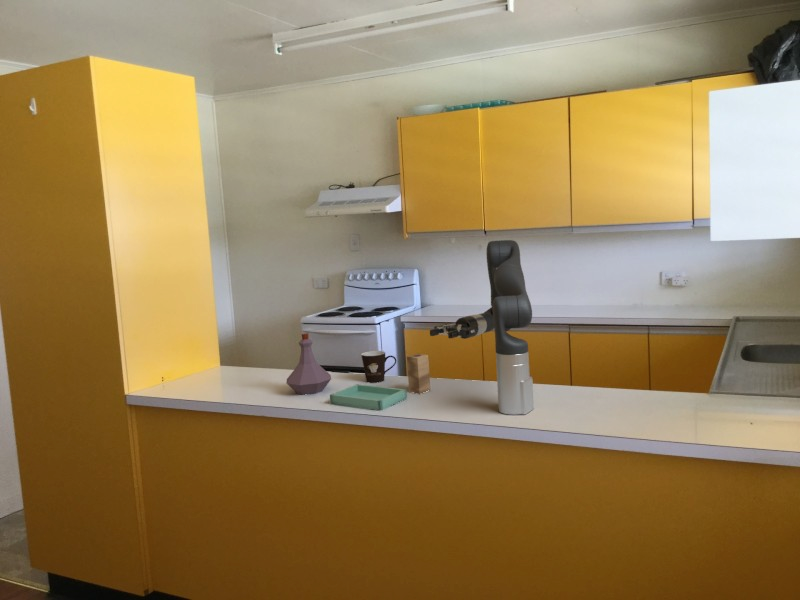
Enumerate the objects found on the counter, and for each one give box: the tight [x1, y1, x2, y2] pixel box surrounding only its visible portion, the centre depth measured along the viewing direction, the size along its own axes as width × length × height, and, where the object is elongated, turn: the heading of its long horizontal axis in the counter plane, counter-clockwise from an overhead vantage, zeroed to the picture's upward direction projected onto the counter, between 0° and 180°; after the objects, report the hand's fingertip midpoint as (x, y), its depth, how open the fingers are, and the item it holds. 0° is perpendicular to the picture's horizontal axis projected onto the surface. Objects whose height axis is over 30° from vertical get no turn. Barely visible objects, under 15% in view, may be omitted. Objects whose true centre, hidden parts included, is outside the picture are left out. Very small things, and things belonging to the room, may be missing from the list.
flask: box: [286, 333, 332, 396], centre depth 232 cm, size 16×16×20 cm
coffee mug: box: [360, 350, 397, 384], centre depth 241 cm, size 12×9×10 cm
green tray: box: [329, 383, 408, 411], centre depth 215 cm, size 20×14×3 cm
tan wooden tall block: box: [406, 353, 431, 395], centre depth 222 cm, size 5×5×12 cm
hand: (439, 334), depth 228 cm, fingers open, 8 cm apart
